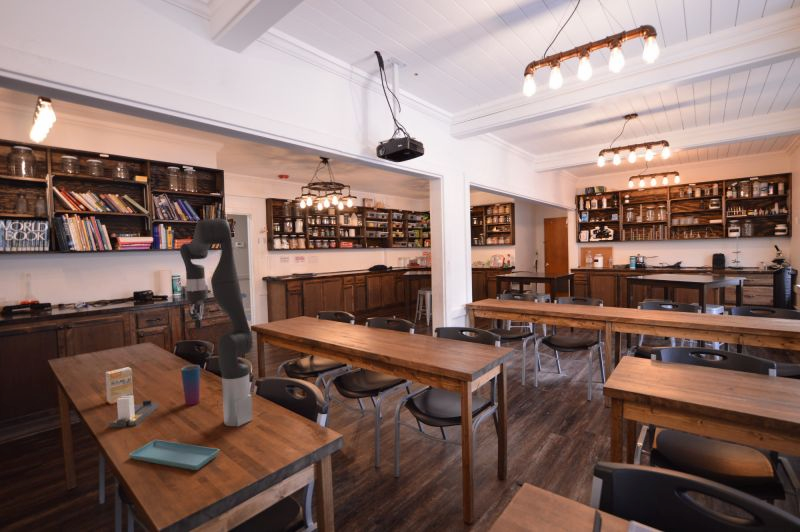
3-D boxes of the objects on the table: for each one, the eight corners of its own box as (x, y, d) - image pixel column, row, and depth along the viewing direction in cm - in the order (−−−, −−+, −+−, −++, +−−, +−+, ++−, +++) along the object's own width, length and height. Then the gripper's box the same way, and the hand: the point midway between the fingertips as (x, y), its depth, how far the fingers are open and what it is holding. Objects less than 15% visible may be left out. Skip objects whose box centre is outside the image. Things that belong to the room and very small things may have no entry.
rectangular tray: (128, 461, 115) (127, 453, 115) (155, 445, 124) (155, 438, 124) (196, 474, 108) (196, 465, 107) (220, 456, 116) (220, 448, 116)
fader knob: (123, 417, 140) (121, 396, 140) (134, 416, 141) (133, 395, 140) (118, 421, 137) (116, 399, 137) (130, 420, 138) (128, 398, 137)
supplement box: (110, 404, 156) (108, 373, 156) (106, 402, 159) (104, 371, 158) (133, 398, 163) (131, 368, 162) (129, 395, 166) (127, 366, 165)
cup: (193, 407, 152) (191, 370, 151) (179, 406, 153) (177, 370, 152) (205, 400, 159) (203, 365, 158) (191, 399, 160) (189, 364, 159)
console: (136, 407, 153) (135, 400, 153) (160, 405, 154) (159, 399, 154) (108, 428, 135) (107, 421, 135) (135, 426, 136) (134, 419, 136)
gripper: (193, 287, 170) (195, 325, 171) (180, 291, 157) (182, 332, 158) (211, 287, 171) (213, 324, 172) (199, 290, 158) (201, 331, 159)
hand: (198, 328), depth 165 cm, fingers closed
